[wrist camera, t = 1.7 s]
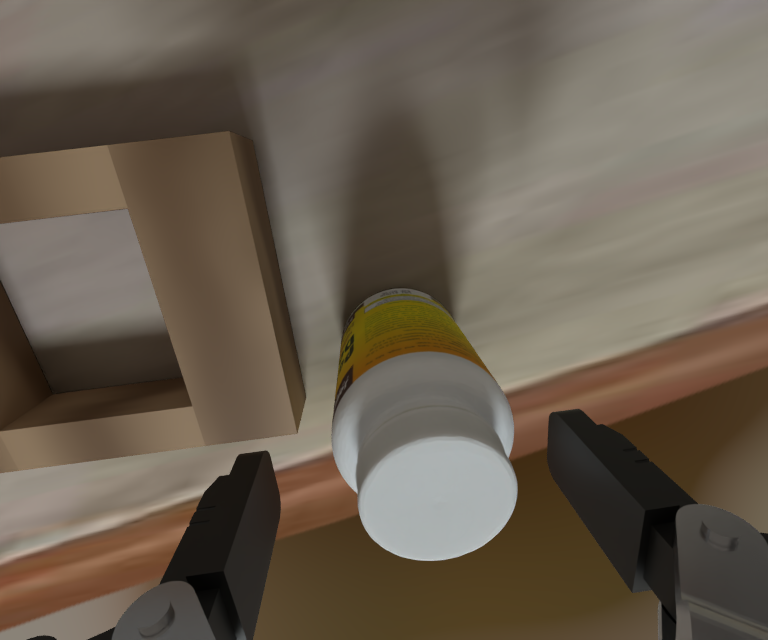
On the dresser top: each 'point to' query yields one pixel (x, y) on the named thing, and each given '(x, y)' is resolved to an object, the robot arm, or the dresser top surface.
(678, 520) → the robot arm
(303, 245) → the dresser top surface
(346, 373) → the supplement bottle
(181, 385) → the holder block
